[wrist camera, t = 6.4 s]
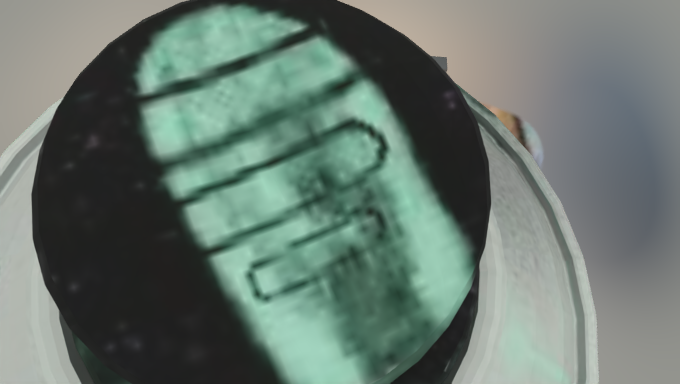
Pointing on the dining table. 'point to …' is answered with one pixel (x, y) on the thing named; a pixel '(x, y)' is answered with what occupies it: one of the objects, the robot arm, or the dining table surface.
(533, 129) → the dining table surface
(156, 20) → the spray can
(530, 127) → the dining table surface
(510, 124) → the dining table surface
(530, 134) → the dining table surface
